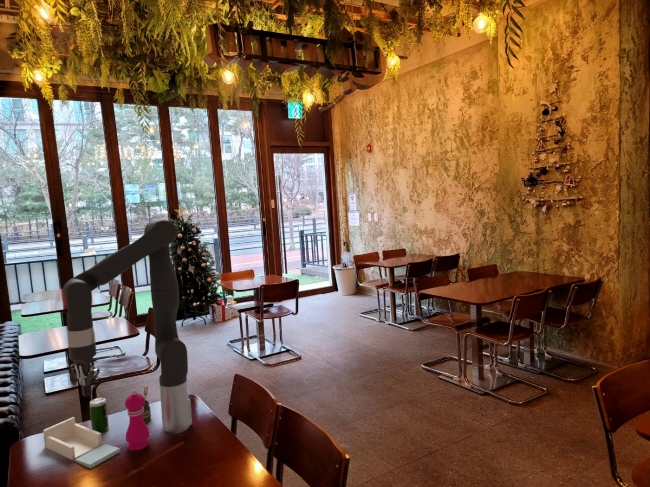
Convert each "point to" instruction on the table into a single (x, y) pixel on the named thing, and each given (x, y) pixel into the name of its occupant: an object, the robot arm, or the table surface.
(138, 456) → the table surface
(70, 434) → the tray
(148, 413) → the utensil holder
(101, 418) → the beer can
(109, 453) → the panel
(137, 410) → the pepper mill
